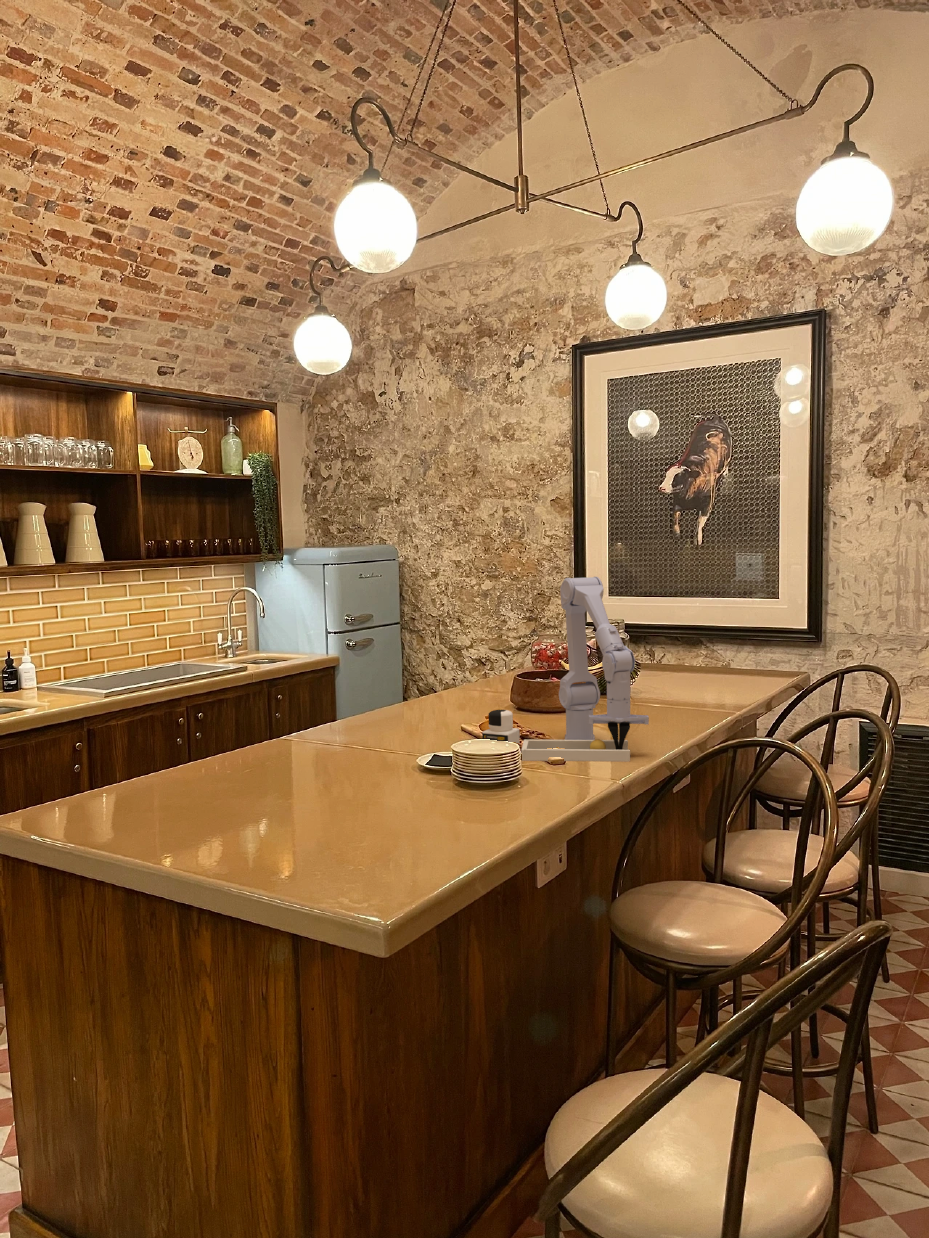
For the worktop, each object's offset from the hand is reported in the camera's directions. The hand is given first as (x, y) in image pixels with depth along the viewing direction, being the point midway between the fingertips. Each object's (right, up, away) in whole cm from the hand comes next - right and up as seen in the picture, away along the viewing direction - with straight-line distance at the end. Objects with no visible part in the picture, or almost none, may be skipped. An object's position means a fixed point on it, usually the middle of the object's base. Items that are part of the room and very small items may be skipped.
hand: (618, 752), depth 236 cm
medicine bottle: (-29, -2, +2) cm, 29 cm away
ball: (-5, -1, +1) cm, 5 cm away
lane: (-10, -1, +1) cm, 10 cm away
